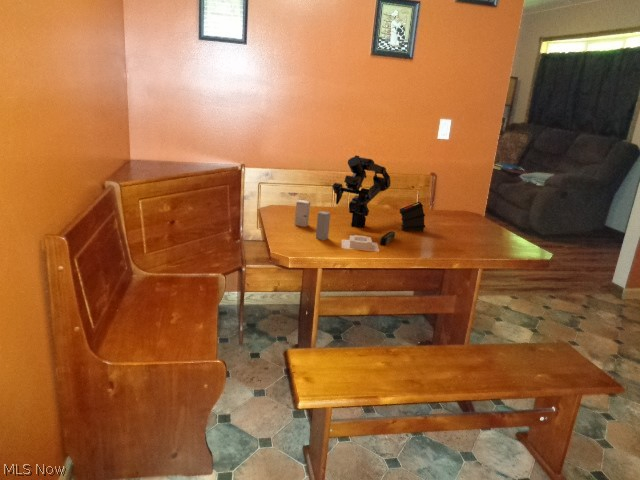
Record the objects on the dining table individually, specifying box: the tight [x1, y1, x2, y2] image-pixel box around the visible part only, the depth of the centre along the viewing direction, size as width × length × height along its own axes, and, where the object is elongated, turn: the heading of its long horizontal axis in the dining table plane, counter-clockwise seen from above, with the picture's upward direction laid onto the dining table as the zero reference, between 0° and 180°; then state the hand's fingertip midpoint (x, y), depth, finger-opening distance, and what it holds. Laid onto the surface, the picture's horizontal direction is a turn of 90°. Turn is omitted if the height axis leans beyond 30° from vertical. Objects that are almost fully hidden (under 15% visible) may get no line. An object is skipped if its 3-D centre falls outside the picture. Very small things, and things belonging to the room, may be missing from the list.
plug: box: [315, 210, 331, 241], centre depth 207 cm, size 4×4×13 cm
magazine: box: [399, 201, 426, 233], centre depth 234 cm, size 4×13×15 cm, turn 95°
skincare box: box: [294, 199, 311, 228], centre depth 227 cm, size 6×4×12 cm
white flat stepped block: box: [341, 234, 380, 252], centre depth 203 cm, size 16×12×4 cm
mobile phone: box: [380, 230, 396, 247], centre depth 212 cm, size 5×3×15 cm
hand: (345, 205), depth 217 cm, fingers open, 9 cm apart
